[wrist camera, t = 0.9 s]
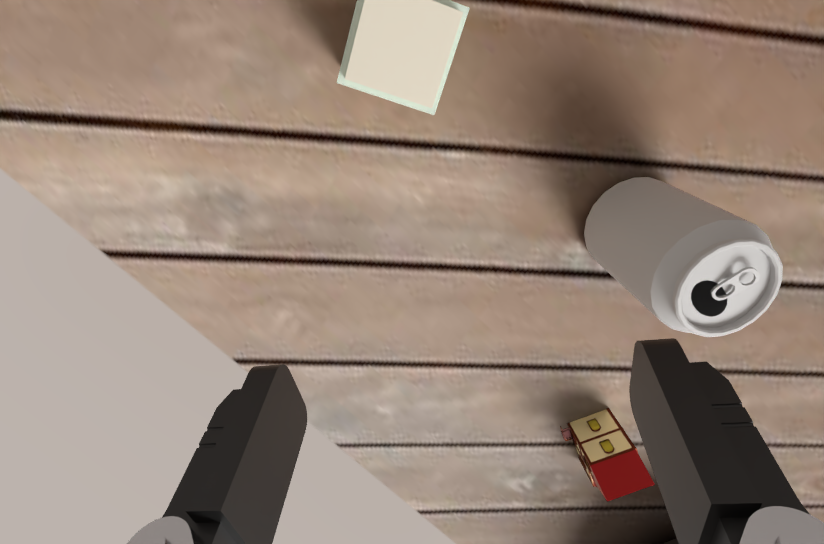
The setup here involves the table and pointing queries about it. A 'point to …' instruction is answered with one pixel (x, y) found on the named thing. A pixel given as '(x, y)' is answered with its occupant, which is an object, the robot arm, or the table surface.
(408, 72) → the sage tin
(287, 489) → the robot arm
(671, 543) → the coal bowl
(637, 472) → the toy house
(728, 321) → the can
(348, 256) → the table surface
